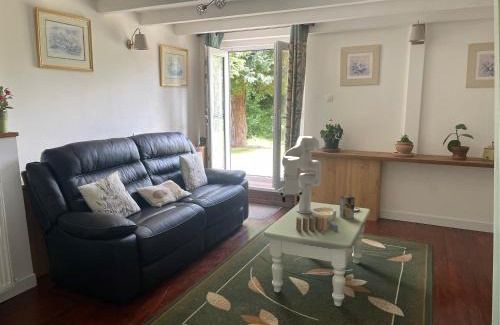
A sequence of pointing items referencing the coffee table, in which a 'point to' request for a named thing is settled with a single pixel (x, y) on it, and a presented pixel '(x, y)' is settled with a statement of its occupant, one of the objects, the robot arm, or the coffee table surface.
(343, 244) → the coffee table surface
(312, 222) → the domino
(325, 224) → the domino
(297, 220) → the domino
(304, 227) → the domino
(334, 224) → the stop block
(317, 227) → the domino
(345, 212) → the coffee box
